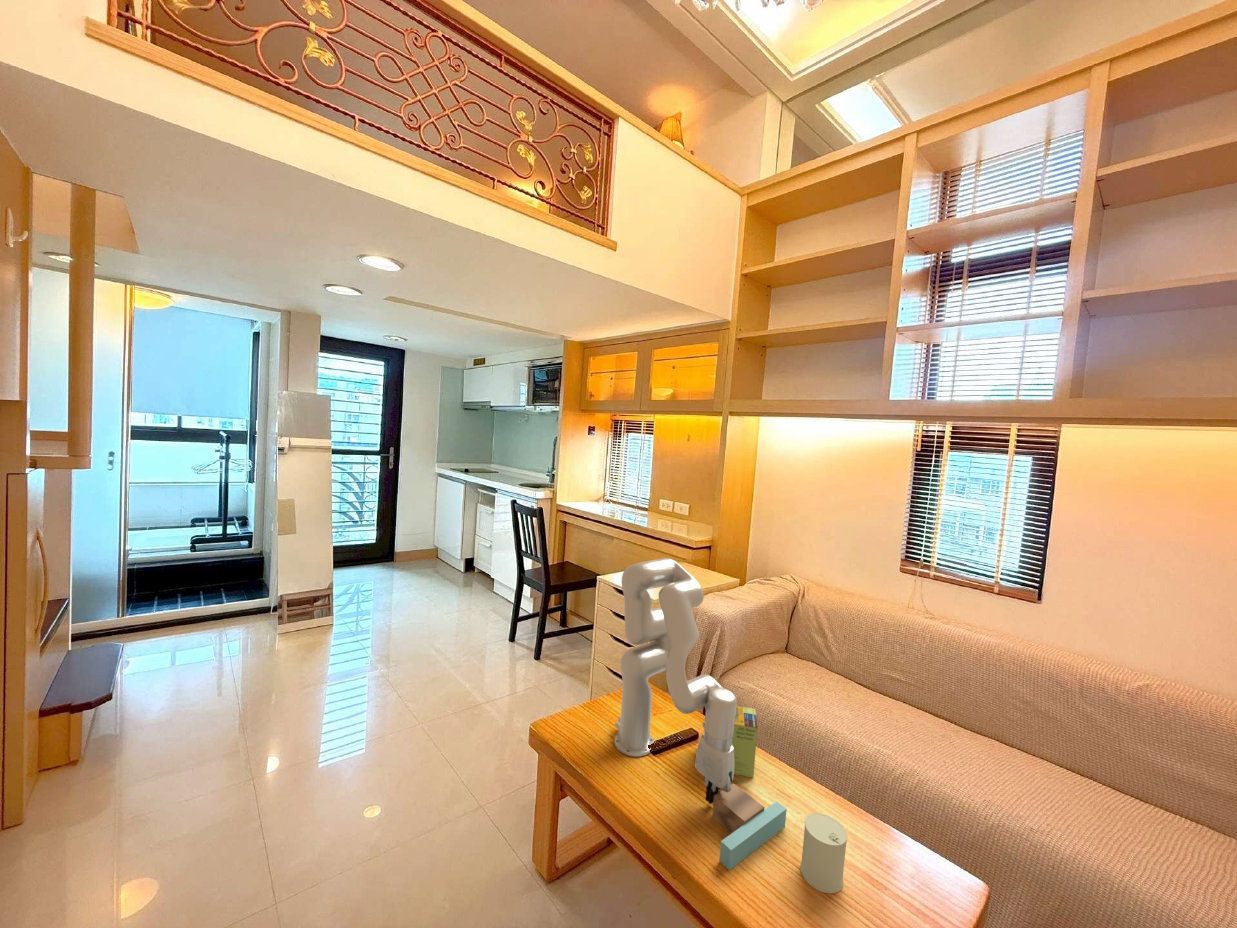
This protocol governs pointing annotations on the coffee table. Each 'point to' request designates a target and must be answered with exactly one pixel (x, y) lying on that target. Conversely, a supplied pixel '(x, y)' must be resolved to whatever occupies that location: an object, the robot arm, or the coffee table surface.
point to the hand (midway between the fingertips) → (711, 799)
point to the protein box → (744, 741)
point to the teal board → (752, 835)
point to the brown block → (735, 808)
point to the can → (823, 853)
